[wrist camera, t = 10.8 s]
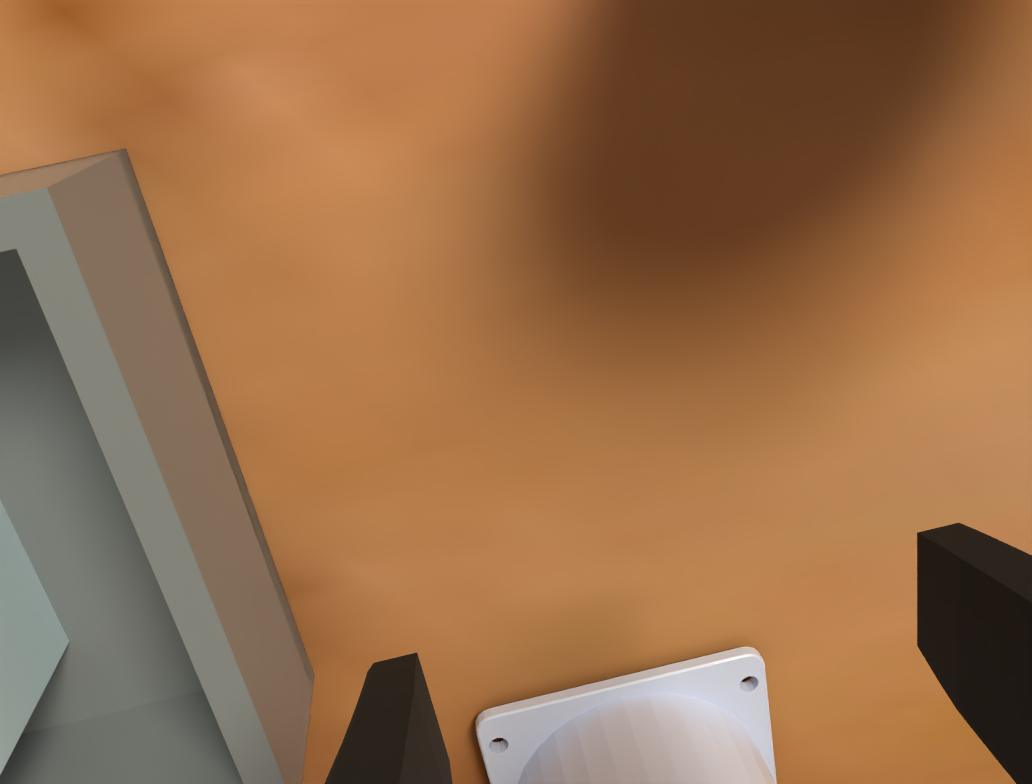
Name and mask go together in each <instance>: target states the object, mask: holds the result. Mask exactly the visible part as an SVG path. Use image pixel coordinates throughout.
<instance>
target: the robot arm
mask: <svg viewBox="0 0 1032 784" xmlns="http://www.w3.org/2000/svg"><path fill="white" fill-rule="evenodd" d="M917 646H918V647H919V649H920V651H921V652H922V654H923V656H924V657H925V659H926V661H927V662H928V664H929V666H930V667H931V669H932V671H933V672H934V674H935V676H936V677H937V679H938V681H939V682H940V684H941V685H942V687H943V689H944V690H945V692H946V693H947V695H948V696H949V698H950V699H951V701H952V703H953V704H954V706H955V707H956V709H957V710H958V711H959V713H960V714H961V715H962V716H963V718H964V719H965V720H966V722H967V723H968V724H969V725H970V727H971V728H972V729H973V730H974V732H975V733H976V734H977V735H978V737H979V738H980V739H981V740H982V742H983V743H984V744H985V745H986V747H987V748H988V749H989V750H990V752H991V753H992V754H993V755H994V757H995V758H996V759H997V760H998V761H999V763H1000V764H1001V765H1002V766H1003V768H1004V769H1005V770H1006V771H1007V773H1008V774H1009V775H1010V776H1011V777H1012V779H1013V780H1014V781H1015V782H1016V784H1032V555H1029V554H1027V553H1025V552H1023V551H1021V550H1019V549H1017V548H1014V547H1012V546H1010V545H1008V544H1006V543H1004V542H1002V541H999V540H997V539H995V538H993V537H991V536H988V535H986V534H984V533H982V532H980V531H977V530H975V529H973V528H970V527H968V526H965V525H963V524H960V523H956V524H952V525H948V526H943V527H939V528H935V529H931V530H927V531H923V532H918V533H917ZM748 676H752V677H751V678H750V679H749V680H748V681H745V682H741V681H742V680H743V679H744V678H746V677H748ZM476 733H477V738H478V741H479V745H480V748H481V752H482V756H483V759H484V763H485V767H486V770H487V774H488V778H489V781H490V784H777V782H776V772H775V762H774V752H773V742H772V733H771V723H770V713H769V703H768V693H767V683H766V673H765V664H764V661H763V659H762V657H761V655H760V654H759V652H758V651H757V650H756V649H754V648H751V647H740V648H736V649H731V650H727V651H723V652H719V653H715V654H711V655H707V656H703V657H698V658H694V659H690V660H686V661H682V662H678V663H674V664H670V665H666V666H661V667H657V668H653V669H649V670H645V671H641V672H637V673H633V674H629V675H624V676H620V677H616V678H612V679H608V680H604V681H600V682H596V683H592V684H587V685H583V686H579V687H575V688H571V689H567V690H563V691H559V692H555V693H550V694H546V695H542V696H538V697H534V698H530V699H526V700H522V701H518V702H513V703H509V704H505V705H501V706H497V707H493V708H489V709H487V710H484V711H483V712H482V713H481V714H479V715H478V717H477V719H476ZM496 738H504V740H502V741H500V742H492V740H494V739H496ZM325 784H452V777H451V769H450V762H449V758H448V754H447V751H446V748H445V744H444V741H443V738H442V734H441V731H440V728H439V724H438V721H437V718H436V714H435V711H434V708H433V704H432V701H431V698H430V694H429V691H428V688H427V684H426V681H425V678H424V674H423V671H422V668H421V664H420V661H419V658H418V654H417V653H413V654H409V655H405V656H401V657H397V658H393V659H388V660H384V661H380V662H376V663H373V665H372V666H371V668H370V669H369V670H368V672H367V676H366V679H365V682H364V685H363V688H362V691H361V694H360V697H359V700H358V703H357V706H356V708H355V711H354V714H353V716H352V719H351V722H350V724H349V727H348V729H347V732H346V735H345V737H344V740H343V742H342V745H341V747H340V749H339V752H338V754H337V756H336V759H335V761H334V763H333V766H332V768H331V770H330V773H329V775H328V777H327V780H326V782H325Z"/></svg>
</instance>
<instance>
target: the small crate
mask: <svg viewBox="0 0 1032 784" xmlns="http://www.w3.org/2000/svg"><path fill="white" fill-rule="evenodd" d="M68 643H69V640H68V638H67V636H66V634H65V632H64V630H63V627H62V625H61V623H60V621H59V619H58V617H57V615H56V613H55V611H54V609H53V607H52V605H51V603H50V601H49V599H48V597H47V595H46V592H45V590H44V588H43V586H42V584H41V582H40V580H39V578H38V576H37V574H36V572H35V570H34V568H33V566H32V564H31V562H30V560H29V558H28V555H27V553H26V551H25V549H24V547H23V545H22V543H21V541H20V539H19V537H18V535H17V533H16V531H15V529H14V527H13V525H12V523H11V521H10V518H9V516H8V514H7V512H6V510H5V508H4V506H3V504H2V502H1V500H0V775H1V773H2V771H3V769H4V767H5V765H6V763H7V761H8V759H9V757H10V755H11V753H12V751H13V749H14V747H15V746H16V744H17V742H18V740H19V738H20V736H21V734H22V732H23V730H24V728H25V726H26V724H27V722H28V720H29V718H30V716H31V715H32V713H33V711H34V709H35V707H36V705H37V703H38V701H39V699H40V697H41V695H42V693H43V691H44V689H45V687H46V686H47V684H48V682H49V680H50V678H51V676H52V674H53V672H54V670H55V668H56V666H57V664H58V662H59V660H60V658H61V656H62V655H63V653H64V651H65V649H66V647H67V645H68Z"/></svg>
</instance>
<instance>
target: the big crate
mask: <svg viewBox="0 0 1032 784" xmlns="http://www.w3.org/2000/svg"><path fill="white" fill-rule="evenodd" d="M0 500H1V502H2V504H3V506H4V508H5V510H6V512H7V514H8V516H9V518H10V521H11V523H12V525H13V527H14V529H15V531H16V533H17V535H18V537H19V539H20V541H21V543H22V545H23V547H24V549H25V551H26V553H27V555H28V558H29V560H30V562H31V564H32V566H33V568H34V570H35V572H36V574H37V576H38V578H39V580H40V582H41V584H42V586H43V588H44V590H45V592H46V595H47V597H48V599H49V601H50V603H51V605H52V607H53V609H54V611H55V613H56V615H57V617H58V619H59V621H60V623H61V625H62V627H63V630H64V632H65V634H66V636H67V638H68V640H69V643H68V645H67V647H66V649H65V651H64V653H63V655H62V656H61V658H60V660H59V662H58V664H57V666H56V668H55V670H54V672H53V674H52V676H51V678H50V680H49V682H48V684H47V686H46V687H45V689H44V691H43V693H42V695H41V697H40V699H39V701H38V703H37V705H36V707H35V709H34V711H33V713H32V715H31V716H30V718H29V720H28V722H27V724H26V726H25V728H24V730H23V732H22V734H21V736H20V738H19V740H18V742H17V744H16V746H15V747H14V749H13V751H12V753H11V755H10V757H9V759H8V761H7V763H6V765H5V767H4V769H3V771H2V773H1V775H0V784H302V776H303V768H304V759H305V751H306V742H307V734H308V725H309V717H310V708H311V700H312V691H313V683H314V673H313V670H312V668H311V665H310V662H309V659H308V656H307V654H306V651H305V648H304V645H303V642H302V640H301V637H300V634H299V631H298V628H297V626H296V623H295V620H294V617H293V614H292V612H291V609H290V606H289V603H288V601H287V598H286V595H285V592H284V589H283V587H282V584H281V581H280V578H279V575H278V573H277V570H276V567H275V564H274V561H273V559H272V556H271V553H270V550H269V547H268V545H267V542H266V539H265V536H264V533H263V531H262V528H261V525H260V522H259V520H258V517H257V514H256V511H255V508H254V506H253V503H252V500H251V497H250V494H249V492H248V489H247V486H246V483H245V480H244V478H243V475H242V472H241V469H240V466H239V464H238V461H237V458H236V455H235V452H234V450H233V447H232V444H231V441H230V439H229V436H228V433H227V430H226V427H225V425H224V422H223V419H222V416H221V413H220V411H219V408H218V405H217V402H216V399H215V397H214V394H213V391H212V388H211V385H210V383H209V380H208V377H207V374H206V371H205V369H204V366H203V363H202V360H201V358H200V355H199V352H198V349H197V346H196V344H195V341H194V338H193V335H192V332H191V330H190V327H189V324H188V321H187V318H186V316H185V313H184V310H183V307H182V304H181V302H180V299H179V296H178V293H177V290H176V288H175V285H174V282H173V279H172V277H171V274H170V271H169V268H168V265H167V263H166V260H165V257H164V254H163V251H162V249H161V246H160V243H159V240H158V237H157V235H156V232H155V229H154V226H153V223H152V221H151V218H150V215H149V212H148V209H147V207H146V204H145V201H144V198H143V196H142V193H141V190H140V187H139V184H138V182H137V179H136V176H135V173H134V170H133V168H132V165H131V162H130V159H129V156H128V154H127V151H126V149H122V150H117V151H112V152H108V153H103V154H98V155H93V156H89V157H84V158H79V159H75V160H70V161H65V162H61V163H56V164H51V165H46V166H42V167H37V168H32V169H28V170H23V171H18V172H14V173H9V174H4V175H0Z"/></svg>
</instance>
